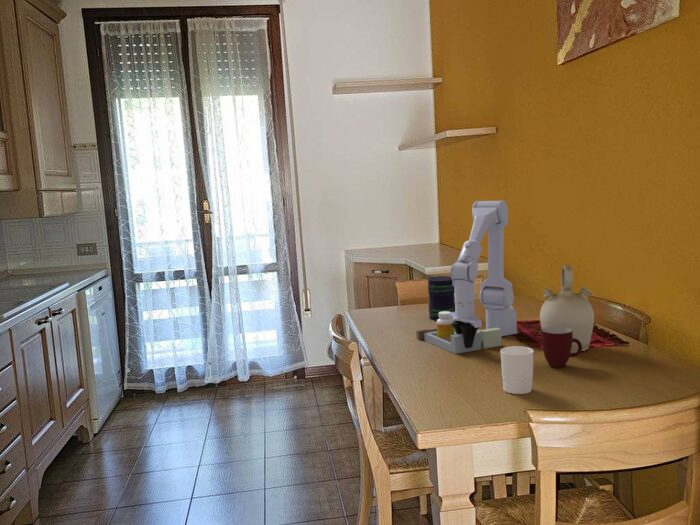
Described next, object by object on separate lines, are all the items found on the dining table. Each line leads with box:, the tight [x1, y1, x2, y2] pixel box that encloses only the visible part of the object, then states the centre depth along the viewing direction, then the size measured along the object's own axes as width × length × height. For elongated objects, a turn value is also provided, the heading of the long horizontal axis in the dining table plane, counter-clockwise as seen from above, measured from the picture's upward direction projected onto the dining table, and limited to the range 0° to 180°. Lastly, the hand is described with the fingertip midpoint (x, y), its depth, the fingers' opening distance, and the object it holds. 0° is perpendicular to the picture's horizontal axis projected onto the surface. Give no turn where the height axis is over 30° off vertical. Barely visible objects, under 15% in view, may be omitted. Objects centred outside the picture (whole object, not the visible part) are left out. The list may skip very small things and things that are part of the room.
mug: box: [540, 327, 582, 369], centre depth 178 cm, size 11×8×10 cm
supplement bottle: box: [436, 311, 455, 342], centre depth 208 cm, size 5×5×10 cm
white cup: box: [499, 345, 535, 395], centre depth 161 cm, size 8×8×10 cm
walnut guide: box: [416, 326, 484, 350], centre depth 208 cm, size 19×22×3 cm
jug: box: [539, 264, 595, 354], centre depth 194 cm, size 15×16×25 cm
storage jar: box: [427, 275, 455, 322], centre depth 241 cm, size 10×10×15 cm
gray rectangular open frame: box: [423, 331, 482, 355], centre depth 205 cm, size 9×19×5 cm, turn 23°
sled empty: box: [454, 328, 502, 350], centre depth 209 cm, size 6×19×5 cm, turn 23°
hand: (465, 346), depth 198 cm, fingers closed on gray rectangular open frame, 2 cm apart
